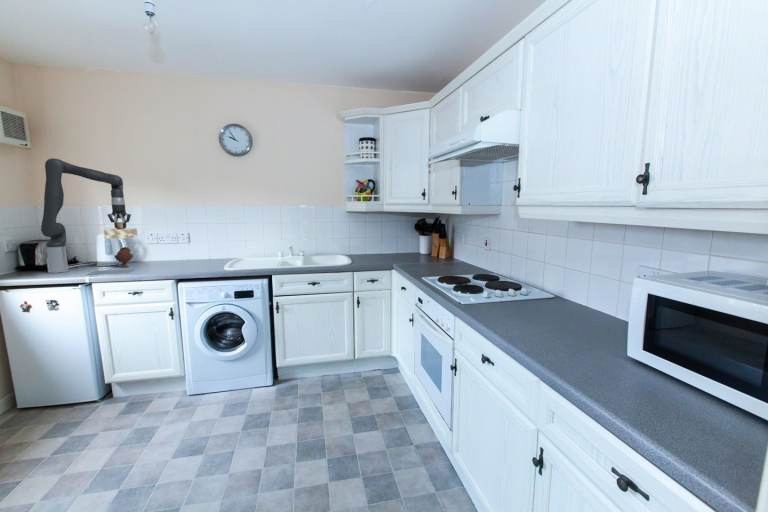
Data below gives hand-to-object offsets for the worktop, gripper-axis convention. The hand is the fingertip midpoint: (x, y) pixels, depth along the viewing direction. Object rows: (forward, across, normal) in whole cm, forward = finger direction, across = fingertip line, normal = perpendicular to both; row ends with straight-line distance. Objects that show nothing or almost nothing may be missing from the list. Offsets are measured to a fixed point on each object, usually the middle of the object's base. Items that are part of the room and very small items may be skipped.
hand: (120, 228), depth 247 cm
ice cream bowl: (+29, 0, 0) cm, 29 cm away
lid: (+7, 0, 0) cm, 7 cm away
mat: (+29, -1, -18) cm, 34 cm away
